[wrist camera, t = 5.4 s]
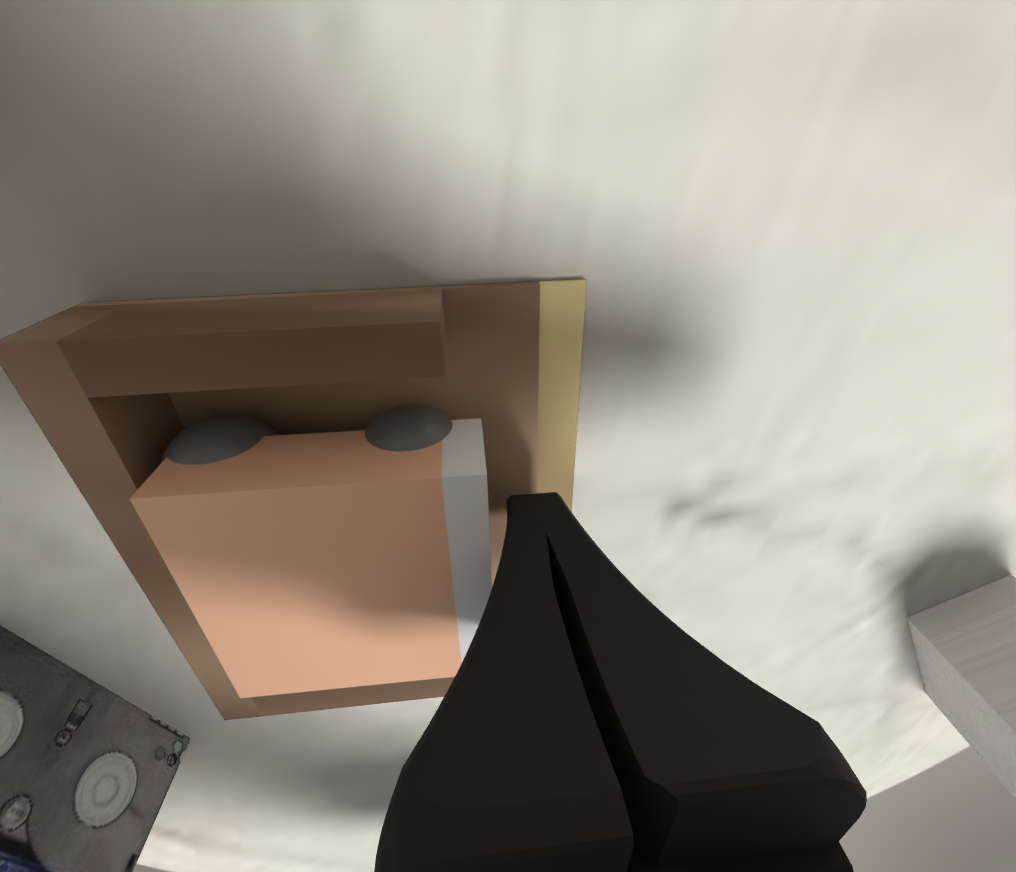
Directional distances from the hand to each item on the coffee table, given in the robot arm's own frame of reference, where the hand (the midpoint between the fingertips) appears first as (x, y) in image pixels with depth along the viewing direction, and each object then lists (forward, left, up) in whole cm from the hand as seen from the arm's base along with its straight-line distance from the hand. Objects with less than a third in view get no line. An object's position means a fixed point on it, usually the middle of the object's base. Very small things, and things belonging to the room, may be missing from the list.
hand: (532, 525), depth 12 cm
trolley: (0, +5, -1) cm, 5 cm away
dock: (0, +4, -1) cm, 4 cm away
